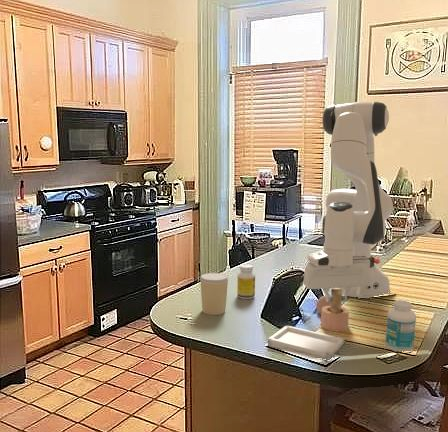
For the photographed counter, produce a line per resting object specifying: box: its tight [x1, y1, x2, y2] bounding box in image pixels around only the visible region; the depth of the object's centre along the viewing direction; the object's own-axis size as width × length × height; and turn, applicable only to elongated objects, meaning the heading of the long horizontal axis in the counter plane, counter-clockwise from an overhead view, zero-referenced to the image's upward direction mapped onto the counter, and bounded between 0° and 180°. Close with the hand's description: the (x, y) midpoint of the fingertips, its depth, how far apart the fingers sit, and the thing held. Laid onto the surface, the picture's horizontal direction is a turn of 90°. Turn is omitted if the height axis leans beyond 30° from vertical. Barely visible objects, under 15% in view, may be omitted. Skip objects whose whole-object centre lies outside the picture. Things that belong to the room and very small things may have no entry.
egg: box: [315, 295, 331, 316], centre depth 163 cm, size 5×5×7 cm
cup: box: [320, 306, 350, 332], centre depth 153 cm, size 8×8×6 cm
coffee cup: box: [199, 272, 229, 316], centre depth 166 cm, size 9×9×12 cm
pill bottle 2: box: [385, 299, 417, 352], centre depth 138 cm, size 8×7×14 cm
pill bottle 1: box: [236, 264, 256, 300], centre depth 182 cm, size 6×6×12 cm
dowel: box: [330, 288, 343, 313], centre depth 152 cm, size 3×3×11 cm
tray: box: [267, 324, 346, 360], centre depth 140 cm, size 18×12×2 cm, turn 57°
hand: (336, 301), depth 152 cm, fingers closed on dowel, 3 cm apart
